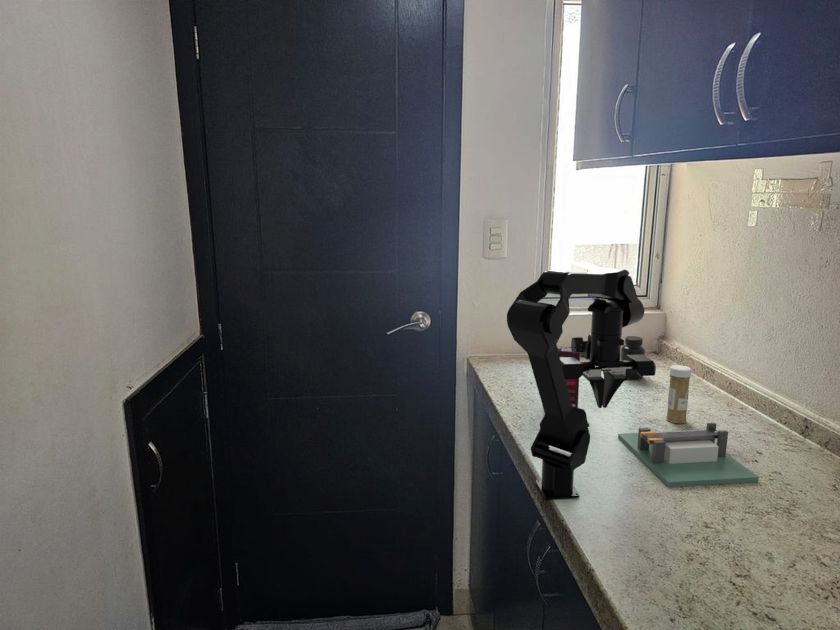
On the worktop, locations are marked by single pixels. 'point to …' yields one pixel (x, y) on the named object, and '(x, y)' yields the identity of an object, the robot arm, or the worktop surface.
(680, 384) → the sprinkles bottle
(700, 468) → the board
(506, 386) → the worktop surface
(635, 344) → the supplement bottle
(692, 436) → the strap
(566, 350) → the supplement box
